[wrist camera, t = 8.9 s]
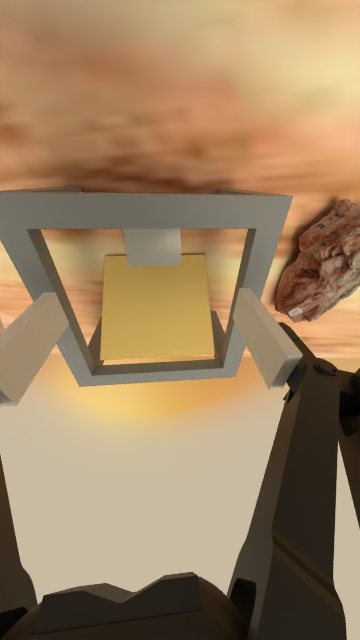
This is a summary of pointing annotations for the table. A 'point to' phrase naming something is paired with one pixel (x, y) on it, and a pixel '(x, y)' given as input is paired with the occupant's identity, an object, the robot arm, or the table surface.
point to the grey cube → (153, 247)
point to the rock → (323, 266)
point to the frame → (140, 213)
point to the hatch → (155, 310)
